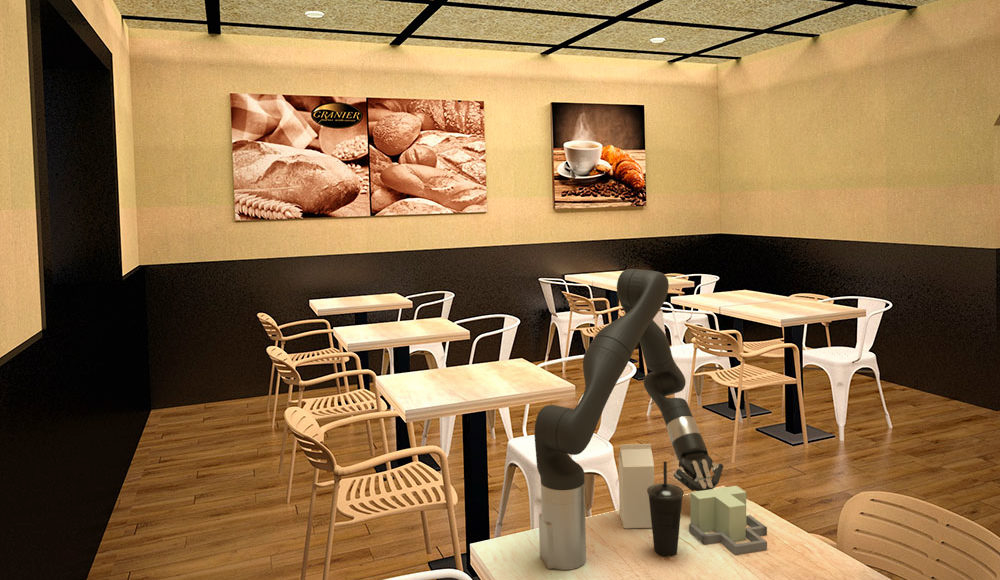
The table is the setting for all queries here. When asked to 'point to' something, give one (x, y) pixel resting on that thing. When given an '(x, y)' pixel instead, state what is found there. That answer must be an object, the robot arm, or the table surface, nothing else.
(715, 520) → the t block
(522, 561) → the table surface
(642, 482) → the milk carton
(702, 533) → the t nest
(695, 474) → the robot arm
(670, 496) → the drinking cup
